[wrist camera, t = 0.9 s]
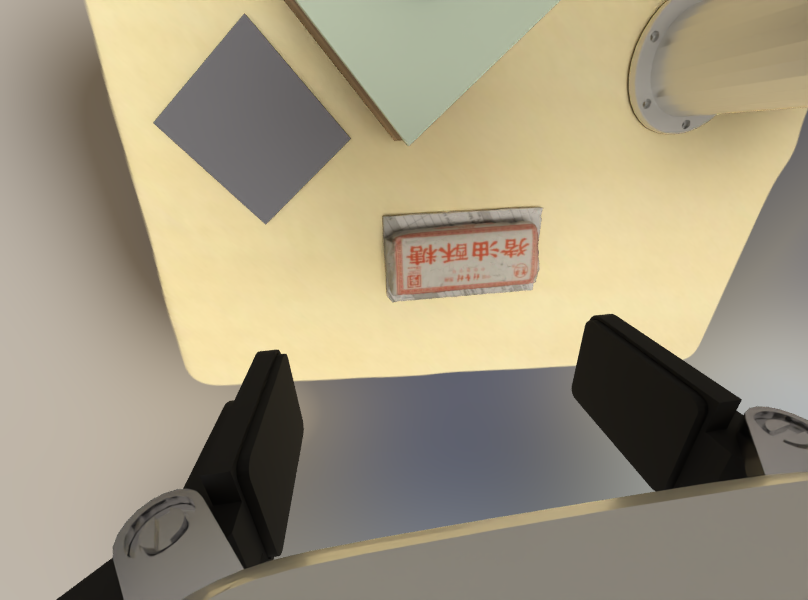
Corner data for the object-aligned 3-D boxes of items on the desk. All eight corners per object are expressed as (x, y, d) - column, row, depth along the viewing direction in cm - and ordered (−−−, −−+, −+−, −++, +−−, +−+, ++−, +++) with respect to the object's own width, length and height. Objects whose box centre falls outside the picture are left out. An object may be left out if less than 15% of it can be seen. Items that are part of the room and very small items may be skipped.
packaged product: (390, 316, 36) (385, 223, 32) (386, 298, 40) (381, 214, 36) (547, 301, 38) (562, 212, 34) (527, 285, 42) (538, 205, 38)
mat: (245, 15, 27) (244, 13, 27) (350, 138, 32) (350, 138, 32) (155, 123, 29) (153, 122, 29) (266, 223, 34) (265, 224, 34)
